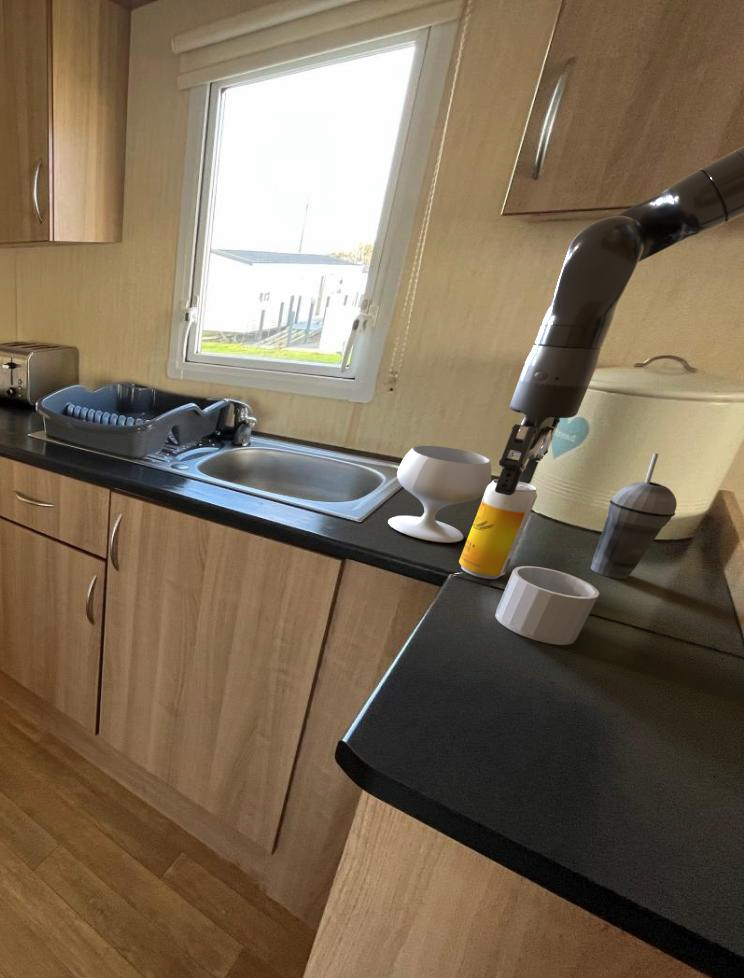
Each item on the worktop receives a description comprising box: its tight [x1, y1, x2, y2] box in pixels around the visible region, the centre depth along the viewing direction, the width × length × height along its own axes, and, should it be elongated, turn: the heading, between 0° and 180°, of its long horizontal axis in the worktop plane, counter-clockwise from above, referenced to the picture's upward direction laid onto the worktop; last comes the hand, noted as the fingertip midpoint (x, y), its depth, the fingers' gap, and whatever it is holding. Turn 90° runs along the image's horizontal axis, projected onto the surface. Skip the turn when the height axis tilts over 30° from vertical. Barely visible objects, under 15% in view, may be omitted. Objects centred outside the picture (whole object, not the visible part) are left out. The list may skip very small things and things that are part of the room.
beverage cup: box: [590, 452, 678, 580], centre depth 86 cm, size 7×7×20 cm
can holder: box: [494, 565, 600, 646], centre depth 73 cm, size 9×9×7 cm
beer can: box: [458, 478, 538, 580], centre depth 86 cm, size 6×6×15 cm
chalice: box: [387, 445, 492, 543], centre depth 101 cm, size 14×14×15 cm
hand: (512, 488), depth 84 cm, fingers open, 8 cm apart
